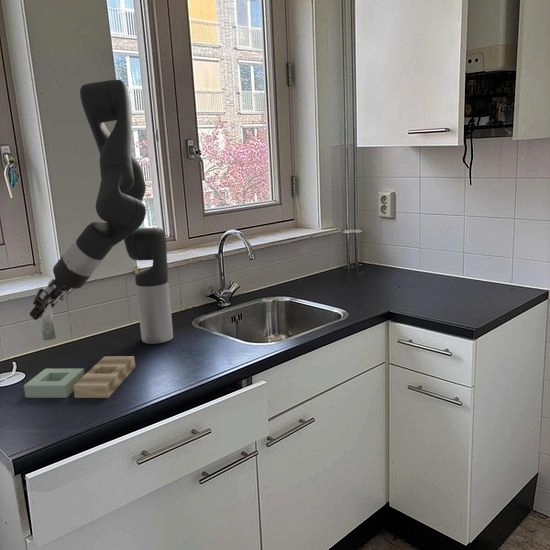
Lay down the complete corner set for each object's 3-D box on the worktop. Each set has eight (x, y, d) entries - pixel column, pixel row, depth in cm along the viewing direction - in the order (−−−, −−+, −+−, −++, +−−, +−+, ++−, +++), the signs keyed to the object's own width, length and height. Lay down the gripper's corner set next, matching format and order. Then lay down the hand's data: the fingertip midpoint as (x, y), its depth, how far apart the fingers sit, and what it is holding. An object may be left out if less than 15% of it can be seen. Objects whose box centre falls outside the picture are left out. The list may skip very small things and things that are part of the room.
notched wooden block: (105, 367, 146) (104, 356, 145) (135, 367, 145) (134, 356, 144) (74, 397, 128) (73, 385, 128) (108, 397, 127) (106, 385, 127)
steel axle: (46, 336, 133) (39, 287, 130) (58, 336, 132) (51, 287, 130) (40, 340, 130) (32, 290, 127) (52, 340, 129) (45, 290, 127)
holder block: (47, 379, 139) (45, 368, 139) (85, 379, 138) (83, 368, 138) (25, 397, 130) (23, 385, 129) (66, 397, 129) (64, 385, 128)
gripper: (82, 246, 132) (43, 295, 137) (48, 257, 118) (6, 312, 123) (106, 267, 132) (66, 316, 137) (74, 282, 118) (31, 335, 124)
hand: (37, 314), depth 130 cm, fingers closed on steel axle, 3 cm apart
